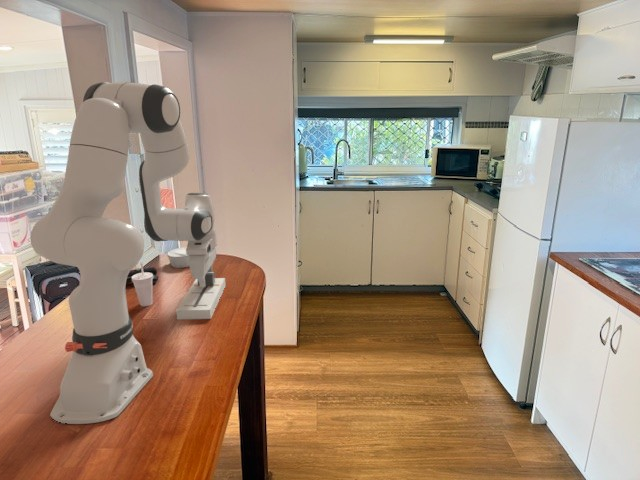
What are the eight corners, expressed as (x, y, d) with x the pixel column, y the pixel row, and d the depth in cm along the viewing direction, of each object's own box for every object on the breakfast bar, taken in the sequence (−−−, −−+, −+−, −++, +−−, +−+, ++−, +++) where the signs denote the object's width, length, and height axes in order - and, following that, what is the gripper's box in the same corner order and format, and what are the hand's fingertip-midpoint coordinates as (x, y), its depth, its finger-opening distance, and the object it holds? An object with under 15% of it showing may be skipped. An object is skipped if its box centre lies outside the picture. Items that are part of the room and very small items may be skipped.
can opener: (159, 277, 159) (157, 263, 157) (158, 284, 153) (156, 269, 151) (106, 284, 154) (104, 269, 152) (104, 291, 147) (101, 276, 146)
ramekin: (165, 269, 166) (163, 257, 164) (172, 259, 177) (171, 247, 175) (195, 268, 167) (193, 255, 165) (200, 258, 177) (199, 246, 176)
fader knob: (213, 285, 143) (212, 274, 141) (197, 285, 142) (196, 274, 141) (215, 282, 145) (214, 270, 144) (200, 282, 145) (198, 270, 144)
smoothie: (160, 299, 141) (154, 259, 136) (151, 308, 134) (145, 267, 130) (141, 299, 141) (135, 259, 137) (131, 307, 135) (125, 266, 131)
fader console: (210, 318, 128) (210, 309, 127) (177, 319, 128) (175, 310, 127) (225, 285, 151) (225, 277, 150) (197, 286, 150) (196, 278, 150)
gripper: (200, 232, 149) (204, 269, 153) (184, 252, 130) (188, 293, 134) (218, 231, 149) (221, 268, 153) (205, 251, 130) (209, 293, 134)
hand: (206, 280), depth 143 cm, fingers open, 8 cm apart
